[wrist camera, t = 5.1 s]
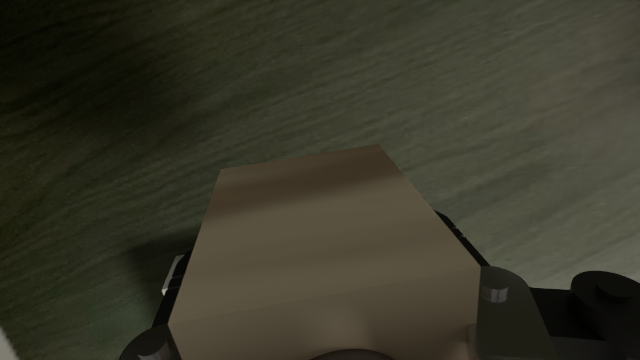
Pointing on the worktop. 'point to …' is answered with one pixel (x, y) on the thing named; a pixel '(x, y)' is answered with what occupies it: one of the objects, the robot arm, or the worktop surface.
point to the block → (324, 267)
